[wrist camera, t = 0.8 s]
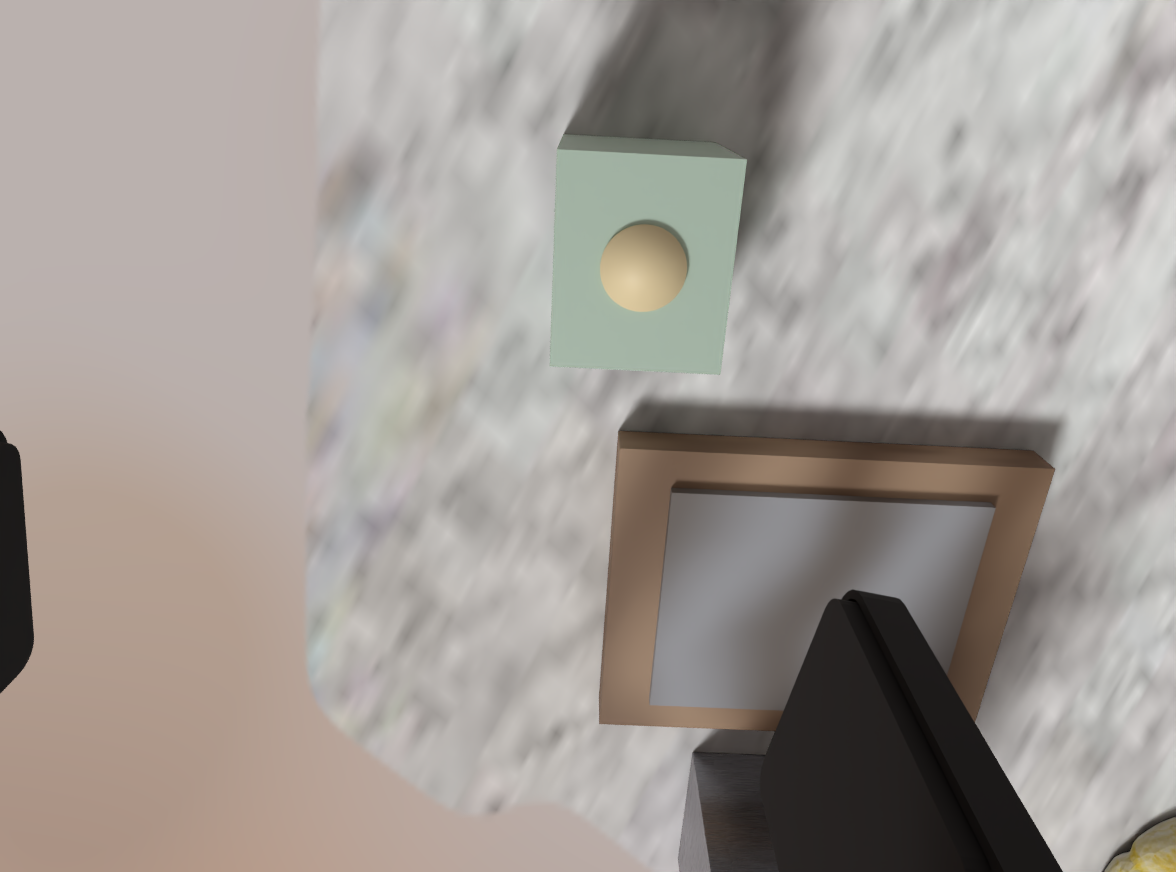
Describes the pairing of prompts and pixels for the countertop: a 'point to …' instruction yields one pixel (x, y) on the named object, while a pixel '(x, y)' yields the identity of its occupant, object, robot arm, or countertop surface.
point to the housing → (643, 253)
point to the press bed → (799, 564)
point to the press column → (725, 817)
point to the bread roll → (1150, 851)
